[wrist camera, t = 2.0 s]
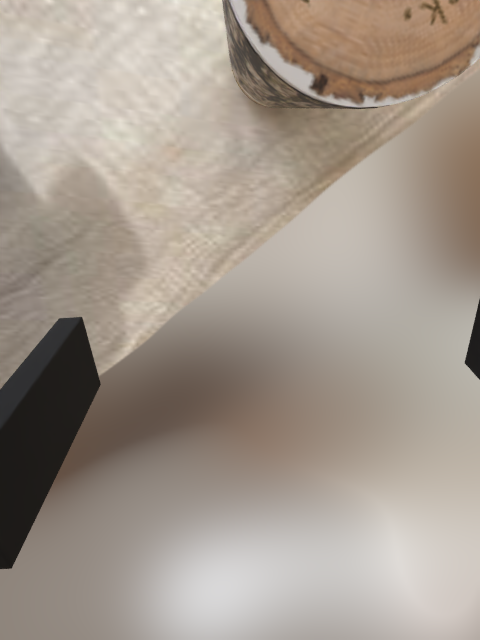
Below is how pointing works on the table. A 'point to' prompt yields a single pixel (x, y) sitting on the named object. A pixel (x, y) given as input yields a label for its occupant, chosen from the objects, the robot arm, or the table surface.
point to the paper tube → (348, 49)
